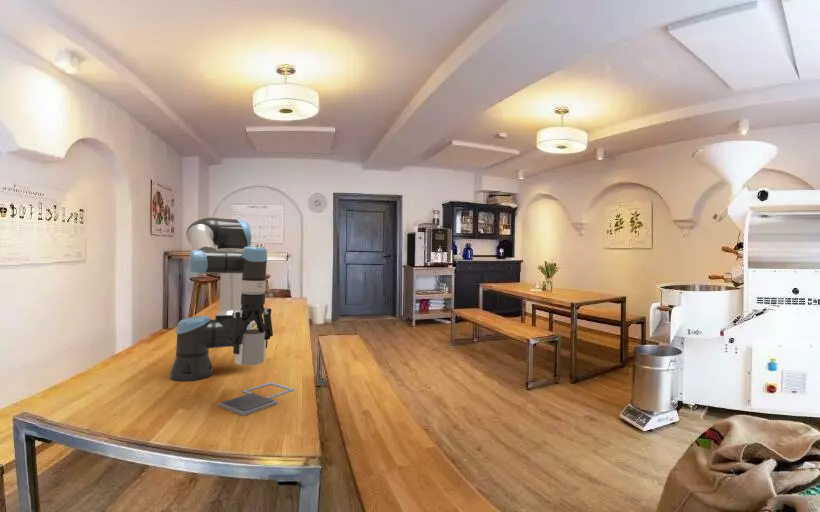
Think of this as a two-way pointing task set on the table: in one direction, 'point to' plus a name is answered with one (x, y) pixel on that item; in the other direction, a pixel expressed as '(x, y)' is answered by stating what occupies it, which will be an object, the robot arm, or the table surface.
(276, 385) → the marked square
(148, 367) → the table surface
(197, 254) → the robot arm
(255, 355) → the cup
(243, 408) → the pad
